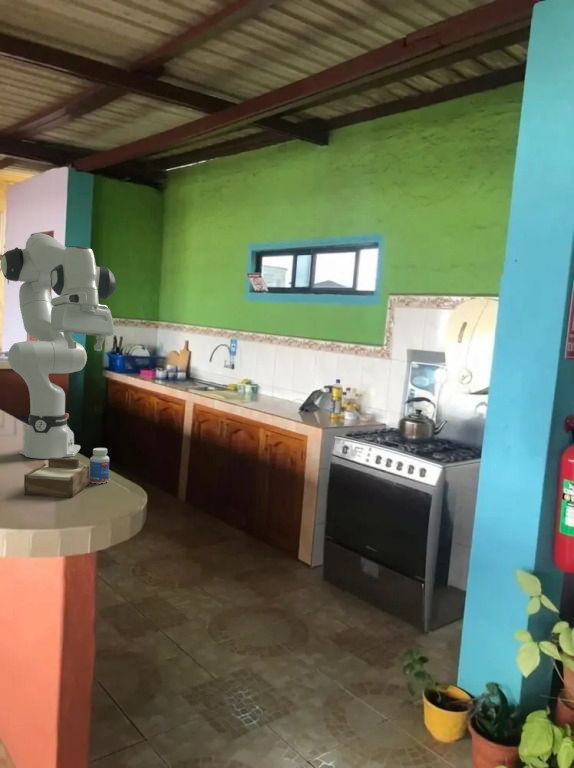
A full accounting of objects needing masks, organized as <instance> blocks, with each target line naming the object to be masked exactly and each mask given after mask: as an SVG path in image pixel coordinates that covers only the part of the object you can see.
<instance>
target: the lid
mask: <svg viewBox="0 0 574 768" xmlns="http://www.w3.org/2000/svg"><path fill="white" fill-rule="evenodd" d="M47 460H48V462H47V463H48V464H46V466H45V467H43V468H41V469H39V470H37V471H35V472H34V473H32V474H30V475H28V478H32V479H50V480H68V481H69V480H70V479H71V477H72V476H73V475H75V474H76V473H78V472H79V471H81V470H83V469H84V468H86V467H87V466H83V465H82V466H81V465H79V463H80V459H79V458H69V457H61V458H49V459H47Z"/></svg>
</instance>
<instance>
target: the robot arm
mask: <svg viewBox="0 0 574 768" xmlns="http://www.w3.org/2000/svg"><path fill="white" fill-rule="evenodd" d="M0 269H1V272H2V275H3V277H4V278H5V279H6V280H8V281H12V282H22V284H21V285H20V287H19V292H18V299H19V300H18V302H19V308H20V313H21V318H22V319H21V320H22V323H23V329H24V331H25V332H26V333H27V335H29V336H30V337H32V338H34V339H35V340H25V341H19V342H15V343H13V344H12V345H11V346H10V348H9V350H8V352H7V361H8V364H9V366H10V368H11V369H12V370H13V371H14V372H16V373H17V374H18V375H20V377H21V378H22V379H23V380H24V382H25V383H26V386H27V388H28V392H29V399H30V401H29V403H30V406H29V407H30V409H29V410H30V413H29V415H28V425H29V426H28V427H27V428H26V429H25V430H24V437H23V438H24V439H23V449H21V450H19V455H20V454H21V455H23V456H25V457H27V458H29V459H30V458H31V459H44V460H45V459H47V460H48V459H49V458H69V457H70V458H71V457H75V456H76V455H77V454H78V452H79V451H80V449H81V445H80V444H75V434H74V431H73V430H71V428H70V427H69V425H68V419H69V417H70V414H69V413H68V412H66V393H65V391H64V389H63V388H62V387H61V386H59V385H57V384H55V383H53V382H51V380H50V378H49V375H50V374H72V373H75V372H80V371H82V370H83V368H85V366H86V364H87V359H88V356H87V350H86V349H85V348H84V346H83V345H82V344H81V343H79V342H77V341H75V340H74V339H73V337H72V336H73V335H74V334H77V335H86V336H95V339H96V343H95V344H94V345H93V350H94V351H97V352H101V351H103V343H104V342H105V340H106V337H111V336H113V335H114V333H115V326H114V321H113V316H112V312H111V309H109V307H108V306H107V305H105V304H100V302H99V300H101V301H106V300H107V299H108V298H110V297H111V296H112V295H113V294H114V292H115V289H116V284H117V283H116V277H115V275H114V273H113V272H112V271H111V270H110V269H109V268H108V267H107V266H98V265H97V264H96V258H95V254H94V251H93V249H91V248H90V247H88V246H82V245H81V246H80V245H70V246H67V247H66V246H65V245H64V244H62V243H61V242H59V241H58V240H57V239H56V238H54V237H52V236H51V235H48V234H46V233H43V232H42V233H41V232H38V233H34V234H32V235H30V236H29V237H28V238H27V240H26V242H25V248H19V247H18V246H17V247H15V248H14V249H10V250H7V251H5V252H4V253H3V254H2V256H1V260H0ZM51 290H52V291H53V292H54V293H55V294H56V295H58V296H56V297H53V298H52V296H51Z"/></svg>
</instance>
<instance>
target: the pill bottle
mask: <svg viewBox="0 0 574 768" xmlns="http://www.w3.org/2000/svg"><path fill="white" fill-rule="evenodd" d="M107 454H108V448H106V447H96V448H95V447H94V448H93V449H92V456H91V457H90V458H89V483H91V484H94V483H96V485H102V484H101V483H103V484H106V482H107V483H109V478H110V457H109V456H108V455H107Z"/></svg>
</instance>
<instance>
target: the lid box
mask: <svg viewBox="0 0 574 768" xmlns="http://www.w3.org/2000/svg"><path fill="white" fill-rule="evenodd" d="M46 465H47V464H46V463H43V464H42V465H39V466H38V467H36V468H34V469H33V470H30V471H28V472H27V473H25V474H23V475H24V476H23V477H24V478H23V481H24V484H23V495H24V496H33V495H34V496H35V497H36V496H37V497H56V498H57V497H58V498H71V499H72V498H74V497H75V496H77V495H78V494H79V493H81V492H82V491H84V490H85V489H86V488H87V487H89V486H88V485H90V465H87V466H85V467H86V468H84V469H83V470H81V471H79V472H78V473H76V474H75V475H73V476H72V477H71V479H70V480H69V481H68V480H50V479H32V478H28V475H30V474H32V473H34V472H35V471H37V470H39V469H41V468H43V467H45V466H46ZM84 488H85V489H84Z"/></svg>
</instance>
